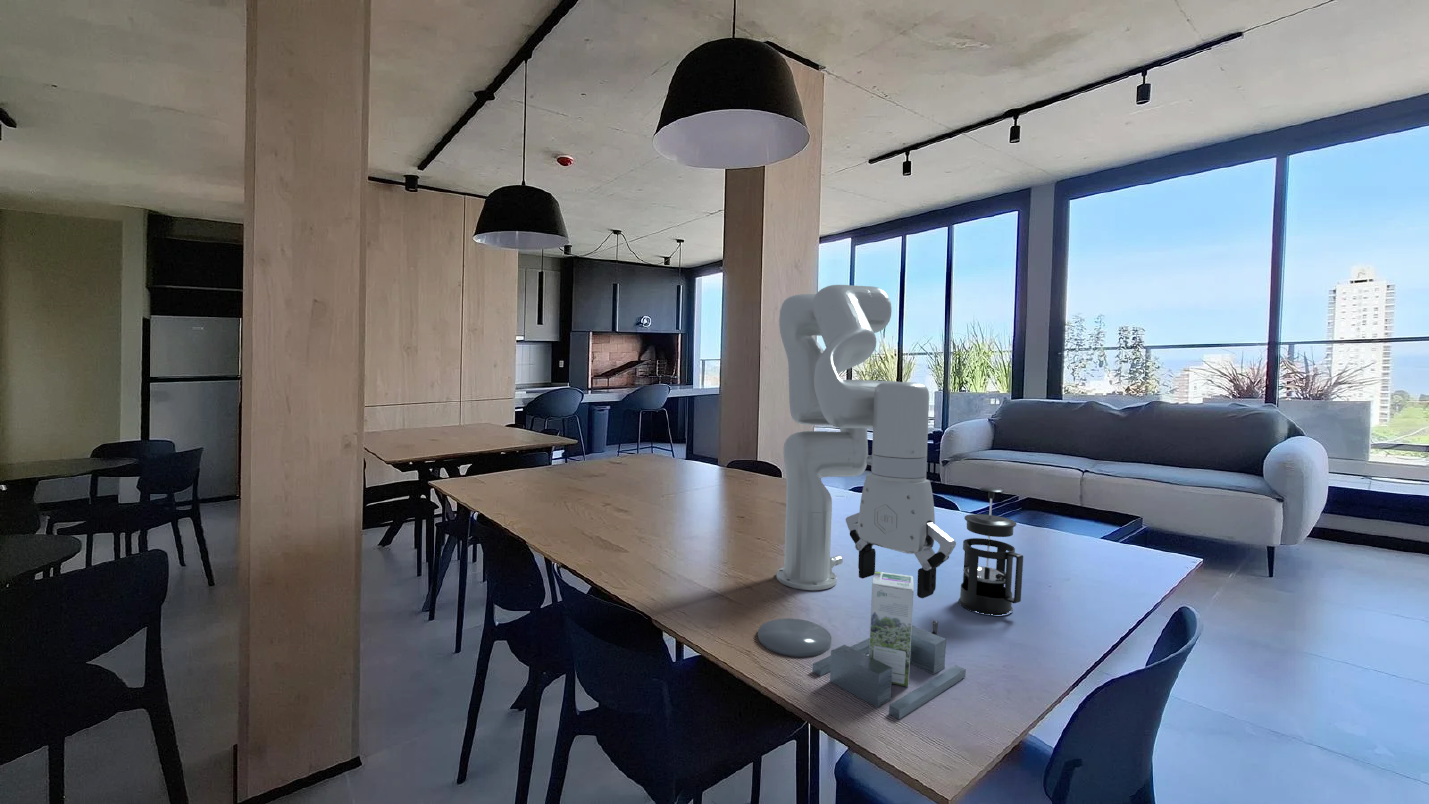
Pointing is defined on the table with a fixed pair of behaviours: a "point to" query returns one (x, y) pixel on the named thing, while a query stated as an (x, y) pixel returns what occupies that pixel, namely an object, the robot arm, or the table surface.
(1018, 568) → the french press
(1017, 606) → the table surface
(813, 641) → the coaster
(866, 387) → the robot arm
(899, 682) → the syrup box
